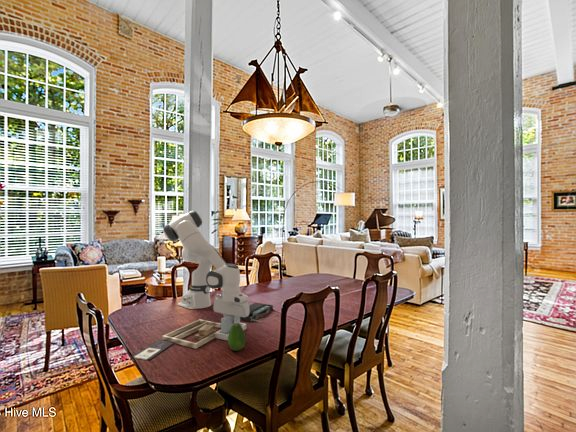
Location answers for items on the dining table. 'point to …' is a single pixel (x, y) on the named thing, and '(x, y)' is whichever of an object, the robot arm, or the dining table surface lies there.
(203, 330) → the offcut top
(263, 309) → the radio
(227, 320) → the pale grey rectangular block
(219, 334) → the cradle
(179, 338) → the frame
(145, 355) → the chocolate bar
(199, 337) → the offcut low
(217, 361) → the dining table surface
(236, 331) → the avocado
